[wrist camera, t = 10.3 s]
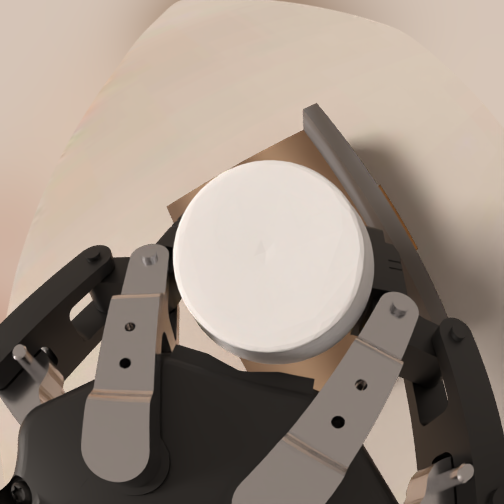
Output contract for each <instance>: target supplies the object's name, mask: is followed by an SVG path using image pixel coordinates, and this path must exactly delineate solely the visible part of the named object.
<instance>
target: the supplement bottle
mask: <svg viewBox="0 0 504 504" xmlns="http://www.w3.org/2000/svg"><path fill="white" fill-rule="evenodd" d="M173 266H174V273H175V279H176V282H177V286H178V290H179V292H180V294H181V297H182V299H183V301H184V303H185V304H186V306H187V308H188V309H189V311H190V312H191V314H192V315H193V317H194V318H195V320H196V321H197V323H198V325H199V326H200V327H201V329H202V330H203V331H204V332H205V333H206V334H207V335H208V336H209V337H210V338H211V339H212V340H213V341H214V342H215V343H217V344H218V345H219V346H221V347H222V348H224V349H225V350H227V351H228V352H230V353H232V354H234V355H236V356H238V357H241V358H243V359H246V360H249V361H253V362H257V363H263V364H290V363H296V362H300V361H304V360H307V359H310V358H312V357H315V356H317V355H319V354H321V353H323V352H325V351H327V350H328V349H330V348H332V347H333V346H334V345H336V344H337V343H338V342H339V341H341V340H342V339H343V338H344V337H345V336H346V335H347V334H348V333H349V332H350V330H351V329H352V328H353V327H354V325H355V324H356V323H357V321H358V320H359V318H360V317H361V315H362V313H363V311H364V309H365V307H366V305H367V302H368V300H369V296H370V293H371V289H372V284H373V278H374V256H373V250H372V244H371V241H370V238H369V235H368V232H367V229H366V227H365V225H364V223H363V221H362V219H361V217H360V216H359V214H358V213H357V211H356V210H355V209H354V207H353V206H352V205H351V204H350V202H349V201H348V200H347V198H346V197H345V195H344V194H343V193H342V192H341V191H340V190H339V189H338V188H337V187H336V186H335V185H334V184H333V183H332V182H331V181H329V180H328V179H327V178H325V177H324V176H323V175H321V174H319V173H318V172H316V171H314V170H312V169H310V168H307V167H305V166H303V165H299V164H295V163H292V162H286V161H277V160H263V161H254V162H250V163H246V164H242V165H239V166H236V167H234V168H231V169H229V170H227V171H225V172H223V173H221V174H220V175H218V176H217V177H215V178H214V179H213V180H211V181H210V182H209V183H208V184H206V185H205V186H204V187H203V188H202V189H201V190H200V191H199V192H198V193H197V194H196V196H195V197H194V198H193V199H192V201H191V202H190V204H189V205H188V207H187V209H186V210H185V212H184V214H183V216H182V218H181V221H180V223H179V226H178V229H177V232H176V237H175V242H174V248H173Z"/></svg>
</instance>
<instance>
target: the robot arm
mask: <svg viewBox="0 0 504 504" xmlns="http://www.w3.org/2000/svg"><path fill="white" fill-rule="evenodd" d="M183 214H184V213H183ZM183 214H182V215H181V216H180V217H179V218H178V219H177V221H175V222H174V224H173V225H172V227H170V228H169V229H168V230H167V232H166V233H165V234H164V235H163V236H162V237H161V238H160V240H159V241H158V242H157V243H156V244H148V245H144V246H142V247H140V248H138V249H136V250H135V251H134V252H133V253H132V255H131V257H117V258H113V256H112V253H111V250H110V249H109V248H108V247H107V246H103V245H97V246H92V247H90V248H88V249H86V250H84V251H83V252H82V253H80V254H79V255H78V256H77V257H75V258H74V259H73V260H72V261H70V262H69V263H68V264H67V265H65V266H64V267H63V268H62V269H60V270H59V271H58V272H57V273H56V274H55V275H53V276H52V277H51V278H50V279H49V280H47V281H46V282H45V283H44V284H43V285H42V286H41V287H39V288H38V289H37V290H36V291H35V292H34V293H33V294H31V295H30V296H29V297H28V298H27V299H26V300H25V301H24V302H23V303H22V304H21V305H19V306H18V307H17V308H16V309H15V310H14V311H13V312H12V313H11V314H10V315H9V316H8V317H7V318H6V319H5V320H4V321H3V322H2V323H1V324H0V397H1V399H2V400H3V402H4V403H5V405H6V406H7V408H8V409H9V410H10V412H11V413H12V415H13V416H14V417H15V419H16V420H17V421H18V423H19V424H20V425H21V427H20V430H19V435H18V453H17V461H16V467H15V472H14V475H13V477H12V479H11V481H10V482H9V483H8V484H7V485H6V486H5V487H4V488H3V489H2V490H0V504H399V503H398V502H397V500H396V498H395V497H394V495H393V493H392V492H391V490H390V488H389V487H388V485H387V483H386V482H385V480H384V478H383V477H382V475H381V473H380V472H379V470H378V468H377V467H376V465H375V463H374V462H373V460H372V458H371V457H370V455H369V453H368V452H367V450H366V448H365V447H364V445H363V443H364V441H365V439H366V438H367V436H368V434H369V432H370V431H371V429H372V427H373V425H374V423H375V422H376V420H377V418H378V416H379V414H380V412H381V410H382V409H383V407H384V405H385V403H386V401H387V399H388V397H389V395H390V393H391V391H392V388H393V386H394V384H395V382H396V380H397V378H398V376H400V377H402V378H404V383H405V388H406V393H407V399H408V404H409V410H410V416H411V422H412V429H413V436H414V444H415V452H416V461H417V471H418V472H416V473H415V474H414V475H413V477H412V478H411V480H410V482H409V484H408V488H407V490H406V500H405V502H404V504H504V434H503V429H502V425H501V420H500V416H499V412H498V409H497V405H496V401H495V398H494V394H493V391H492V388H491V384H490V381H489V378H488V375H487V372H486V369H485V366H484V364H483V361H482V358H481V355H480V353H479V350H478V347H477V345H476V342H475V340H474V337H473V335H472V333H471V331H470V329H469V328H468V326H467V325H466V324H465V323H463V322H462V321H460V320H459V319H456V318H446V319H444V320H443V321H442V322H441V323H440V325H437V324H435V323H433V322H431V321H429V320H426V319H424V318H423V317H421V316H420V315H419V311H418V307H417V305H416V304H415V302H414V301H413V300H412V299H411V298H409V297H408V296H407V290H406V285H405V279H404V274H403V271H402V270H403V269H402V264H401V259H400V255H399V252H398V251H397V250H396V248H395V247H394V245H393V244H389V243H385V238H384V233H383V230H382V229H378V228H374V227H369V226H365V227H366V229H367V232H368V235H369V238H370V241H371V244H372V250H373V256H374V278H373V284H372V289H371V293H370V296H369V300H368V302H367V305H366V307H365V309H364V311H363V313H362V315H361V317H360V318H359V320H358V321H357V323H356V324H355V325H354V327H353V328H352V329H351V331H350V335H354V336H358V337H356V339H355V340H354V342H353V343H352V345H351V346H350V348H349V349H348V351H347V353H346V354H345V356H344V357H343V359H342V360H341V362H340V363H339V365H338V366H337V368H336V369H335V371H334V372H333V373H332V375H331V376H330V378H329V379H328V381H327V382H326V383H325V385H324V386H323V388H322V389H321V390H320V392H319V391H317V390H315V389H313V386H314V381H315V379H313V378H308V377H303V376H297V375H292V374H288V373H283V372H247V371H239V370H237V369H235V368H233V367H231V366H229V365H227V364H225V363H224V362H222V361H220V360H218V359H216V358H215V357H213V356H211V355H209V354H207V353H204V352H200V351H197V350H194V349H190V348H187V347H184V346H181V345H179V302H180V300H181V298H182V297H181V294H180V292H179V290H178V286H177V282H176V279H175V273H174V266H173V248H174V242H175V237H176V232H177V229H178V226H179V223H180V221H181V218H182V216H183ZM88 293H90V295H91V297H92V299H93V301H92V302H91V303H90V304H89V305H87V306H86V307H85V308H84V309H83V310H82V311H81V312H80V313H79V314H78V315H77V316H76V317H75V318H74V319H73V320H72V321H70V317H69V315H70V311H71V309H72V308H73V307H74V306H75V305H76V304H77V303H78V302H79V301H80V300H81V299H82V298H83V297H84V296H85V295H87V294H88ZM101 340H102V342H101V347H100V352H99V358H98V364H97V370H96V376H95V380H92V381H90V382H88V383H86V384H84V385H82V386H80V387H78V388H75V389H73V390H71V391H69V392H67V393H65V392H64V390H63V384H64V381H65V380H66V378H67V377H68V376H69V375H70V374H71V373H72V372H73V371H74V370H75V368H76V367H77V366H78V365H79V364H80V363H81V362H82V361H83V360H84V359H85V357H86V356H87V355H88V354H89V353H90V352H91V351H92V350H93V349H94V348H95V347H96V346H97V344H98V343H99V342H100V341H101ZM443 381H444V384H443ZM444 385H445V388H446V391H445V388H444ZM446 392H447V395H446ZM447 396H448V400H447Z"/></svg>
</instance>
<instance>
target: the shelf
mask: <svg viewBox="0 0 504 504" xmlns="http://www.w3.org/2000/svg"><path fill="white" fill-rule="evenodd" d="M303 126H304V130H302V131H300V132H298V133H296V134H294V135H292V136H290V137H288V138H286V139H284V140H282V141H281V142H279V143H277V144H275V145H273V146H271V147H269V148H267V149H265V150H263V151H261V152H259V153H258V154H256V155H254V156H252V157H250V158H248V159H247V160H245V161H243V162H241V163H239V164H237V165H236V166H239V165H242V164H246V163H250V162H254V161H263V160H277V161H286V162H292V163H295V164H299V165H303V166H305V167H307V168H310V169H312V170H314V171H316V172H318V173H319V174H321V175H323V176H324V177H325V178H327V179H328V180H329V181H331V182H332V183H333V184H334V185H335V186H336V187H337V188H338V189H339V190H340V191H341V192H342V193H343V194H344V195H345V197H346V198H347V200H348V201H349V202H350V204H351V205H352V206H353V207H354V209H355V210H356V211H357V213H358V214H359V216H360V217H361V219H362V221H363V223H364V225H365V226H369V227H374V228H378V229H382V230H383V233H384V238H385V243H389V244H393V245H394V247H395V248H396V250H397V251H398V252H399V255H400V259H401V264H402V269H403V270H402V271H403V274H404V279H405V285H406V290H407V296H408V297H409V298H411V299H412V300H413V301H414V302H415V304H416V305H417V307H418V311H419V315H420V316H421V317H423V318H424V319H426V320H429V321H431V322H433V323H435V324H437V325H440V323H441V322H442V321H443V320H444V319H446V318H448V317H447V314H446V312H445V309H444V307H443V305H442V303H441V300H440V298H439V296H438V294H437V291H436V289H435V287H434V285H433V283H432V281H431V279H430V277H429V275H428V273H427V271H426V269H425V267H424V265H423V263H422V261H421V259H420V257H419V255H418V253H417V251H416V250H417V249H418V248H417V246H416V244H415V242H414V240H413V239H412V237H411V235H410V233H409V231H408V230H407V228H406V226H405V224H404V223H403V221H402V219H401V218H400V216H399V214H398V213H397V211H396V209H395V208H394V206H393V204H392V203H391V201H390V199H389V198H388V196H387V195H386V193H385V192H384V190H383V188H382V187H381V185H379V186H378V185H377V184H376V182H375V181H374V179H373V178H372V176H371V175H370V173H369V172H368V170H367V169H366V167H365V166H364V164H363V163H362V162H361V160H360V159H359V157H358V156H357V154H356V153H355V152H354V150H353V149H352V148H351V146H350V145H349V143H348V142H347V141H346V139H345V138H344V137H343V136H342V134H341V133H340V132H339V130H338V129H337V128H336V126H335V125H334V124H333V123H332V121H331V120H330V119H329V118H328V116H327V115H326V114H325V113H324V111H323V110H322V109H321V108H320V107H319V105H318V104H317V103H316V104H314V105H311V106H309V107H307V108H305V109H303ZM236 166H234V167H236ZM234 167H232V168H234ZM230 169H231V168H230ZM216 177H217V176H216ZM213 179H214V178H213ZM213 179H211V180H213ZM211 180H210V181H211ZM210 181H208V182H206V183H204V184H203V185H201V186H199V187H198V188H196V189H194V190H193V191H191V192H189V193H188V194H186V195H185V196H183V197H181V198H180V199H178V200H177V201H175V202H173V203H172V204H170V205H169V206H167V209H168V211H169V213H170V215H171V218H172V220H173V222H175V221H177V219H178V218H179V217H180V216H181V215H182V214H183V213H184V212H185V210H186V209H187V207H188V205H189V204H190V202H191V201H192V199H193V198H194V197H195V196H196V194H197V193H198V192H199V191H200V190H201V189H202V188H203V187H204V186H205V185H206V184H208V183H209V182H210ZM350 331H351V330H350ZM356 337H358V336H354V335H350V332H349V333H348V334H347V335H346V336H345V337H344V338H343V339H342V340H341V341H339V342H338V343H337V344H336V345H334V346H333V347H332V348H330V349H328V350H327V351H325V352H323V353H321V354H319V355H317V356H315V357H312V358H310V359H307V360H304V361H300V362H296V363H290V364H263V363H257V362H253V361H249V360H246V359H243V358H241V357H240V359H241V361H242V362H243V364H244V366H245V368H246V370H247V372H283V373H288V374H292V375H297V376H303V377H308V378H313V379H315V381H314V386H313V389H315V390H317V391H319V392H320V390H321V389H322V388H323V386H324V385H325V383H326V382H327V381H328V379H329V378H330V376H331V375H332V373H333V372H334V371H335V369H336V368H337V366H338V365H339V363H340V362H341V360H342V359H343V357H344V356H345V354H346V353H347V351H348V349H349V348H350V346H351V345H352V343H353V342H354V340H355V339H356Z"/></svg>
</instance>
